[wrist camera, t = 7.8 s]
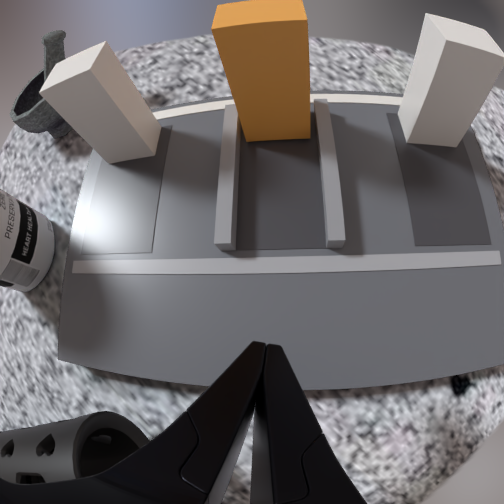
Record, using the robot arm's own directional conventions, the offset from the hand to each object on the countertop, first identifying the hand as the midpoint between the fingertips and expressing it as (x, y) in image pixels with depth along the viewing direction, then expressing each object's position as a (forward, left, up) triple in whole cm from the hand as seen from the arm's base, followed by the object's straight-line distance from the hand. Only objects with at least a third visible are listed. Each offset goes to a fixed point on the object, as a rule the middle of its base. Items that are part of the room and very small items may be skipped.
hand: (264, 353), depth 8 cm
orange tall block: (+5, -14, -9) cm, 18 cm away
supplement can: (+26, +2, -12) cm, 29 cm away
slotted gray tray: (+3, -8, -12) cm, 14 cm away
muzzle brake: (+15, +21, -12) cm, 29 cm away
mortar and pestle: (+33, -15, -12) cm, 38 cm away
